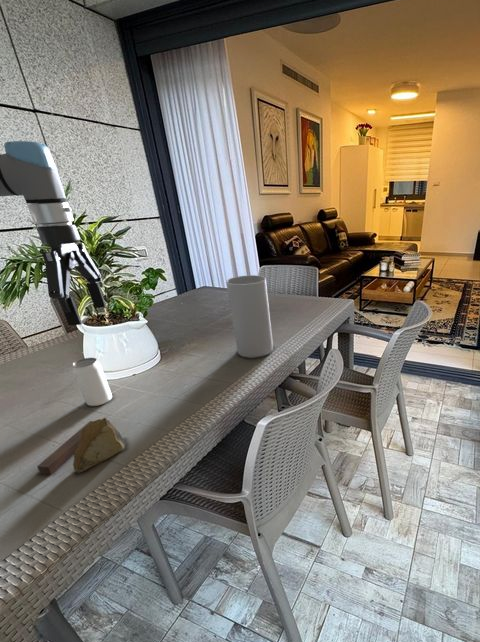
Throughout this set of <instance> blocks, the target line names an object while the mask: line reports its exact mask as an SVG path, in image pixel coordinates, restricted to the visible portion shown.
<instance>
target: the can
mask: <svg viewBox="0 0 480 642" xmlns="http://www.w3.org/2000/svg"><path fill="white" fill-rule="evenodd" d="M71 366H72V373H73V375H74V378H75V380H76V383H77V384H78V388H79V389H80V392H81V395H82V397H83V399H84V401H85V403H86V405H87V406H90V407H99V406H102V405H105V404H107V403H109V402H110V401H111V400H112V398H113V394H112V391H111V388H110V386H109V383H108V381H107V378H106V374H105V373H104V370H103V367H102V364H101V363H100V362H99V361H98V359H97V358H95V357H85V358H81V359H79V360H76V361H74V362H73V363H72V365H71Z"/></svg>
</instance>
